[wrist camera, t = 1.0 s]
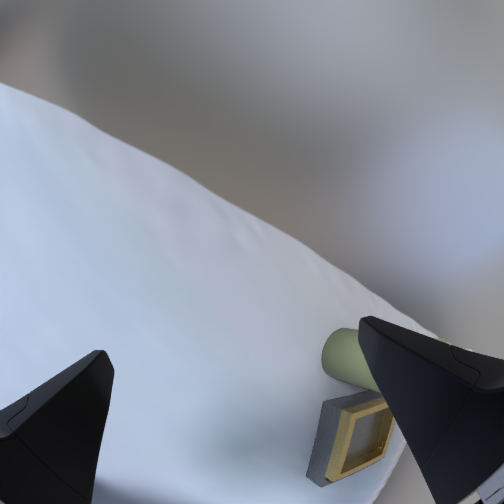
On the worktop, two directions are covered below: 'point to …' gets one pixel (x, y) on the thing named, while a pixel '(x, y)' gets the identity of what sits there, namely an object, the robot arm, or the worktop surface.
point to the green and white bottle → (349, 359)
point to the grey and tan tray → (350, 436)
